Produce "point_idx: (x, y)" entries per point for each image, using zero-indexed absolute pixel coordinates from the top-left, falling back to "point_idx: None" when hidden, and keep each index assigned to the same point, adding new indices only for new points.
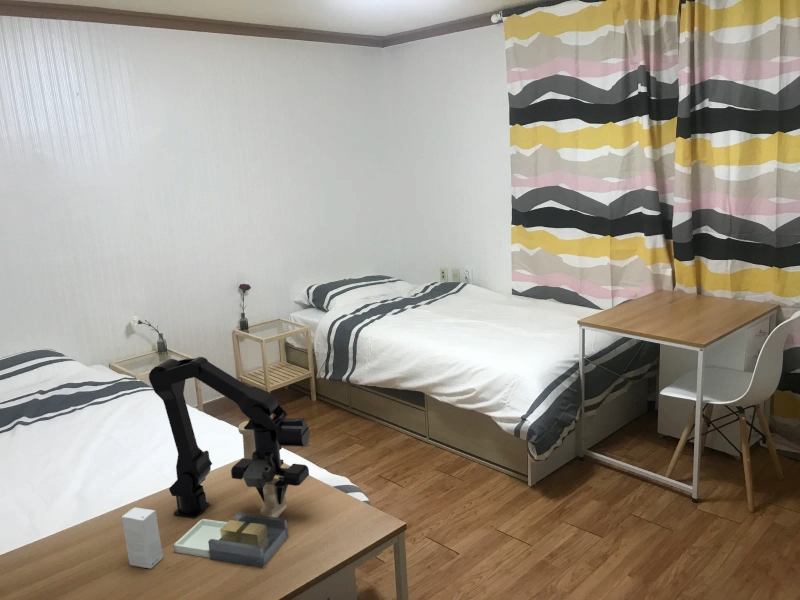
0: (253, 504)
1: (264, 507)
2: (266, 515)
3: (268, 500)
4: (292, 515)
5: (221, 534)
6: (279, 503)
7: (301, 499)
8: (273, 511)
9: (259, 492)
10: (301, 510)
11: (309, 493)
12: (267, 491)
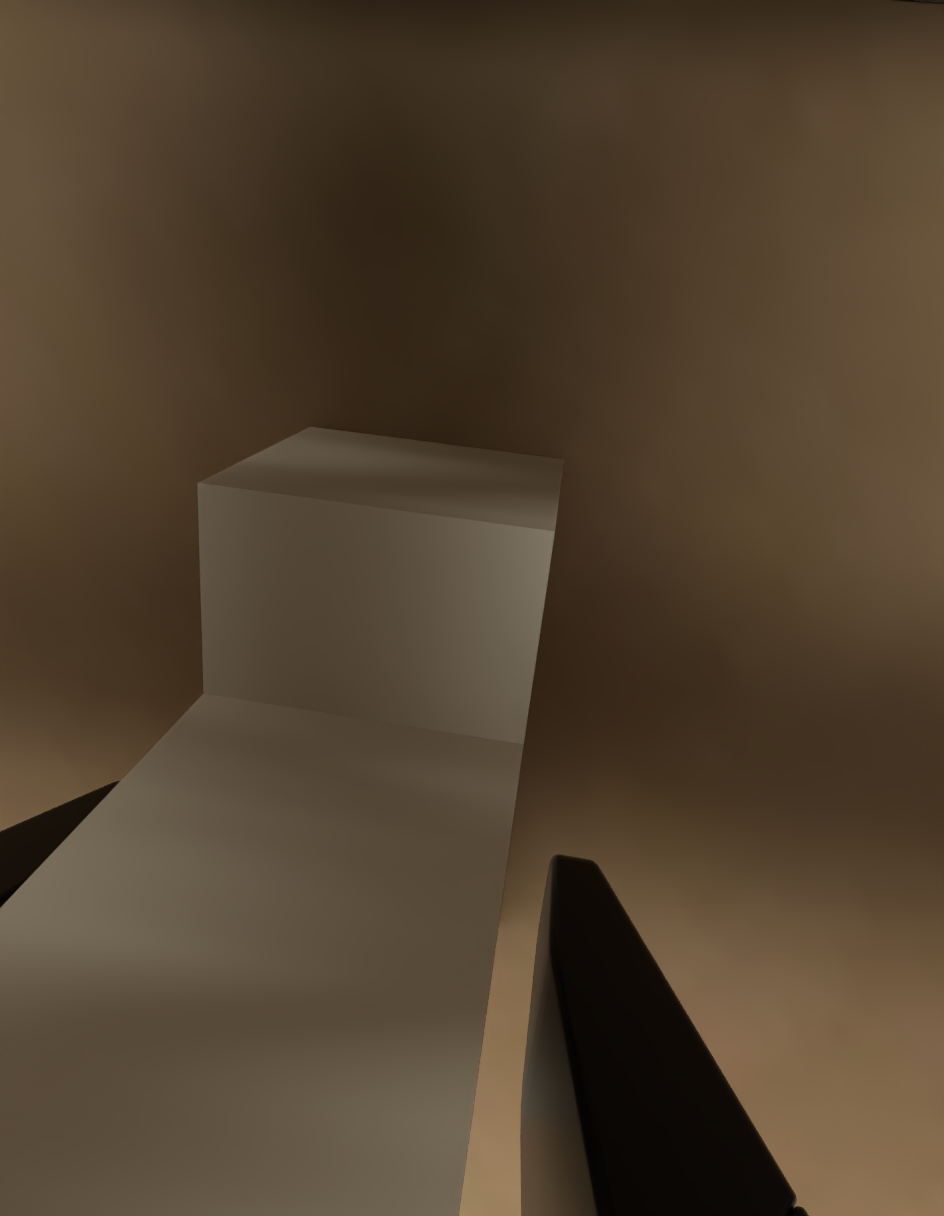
0: (940, 972)
1: (498, 661)
2: (413, 472)
3: (347, 830)
4: (74, 676)
5: None
6: None
7: None
8: (225, 555)
9: (724, 1162)
10: (15, 814)
11: None
12: (202, 1168)
